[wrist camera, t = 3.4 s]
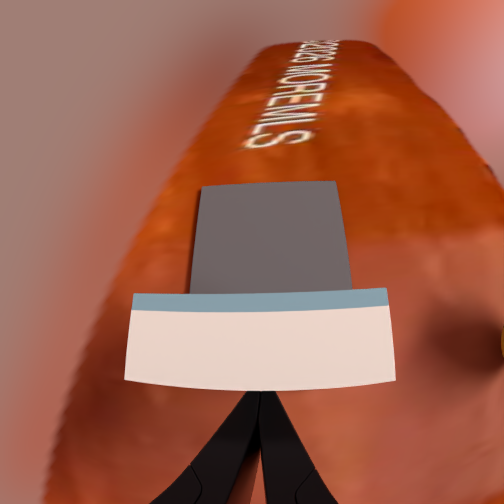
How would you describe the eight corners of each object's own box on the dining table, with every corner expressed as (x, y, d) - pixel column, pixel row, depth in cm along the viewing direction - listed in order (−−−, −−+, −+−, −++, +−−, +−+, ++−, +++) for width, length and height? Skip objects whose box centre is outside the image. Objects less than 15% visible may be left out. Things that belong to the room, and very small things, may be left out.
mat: (354, 332, 16) (356, 330, 16) (188, 335, 17) (186, 334, 17) (334, 184, 21) (335, 181, 21) (203, 190, 22) (202, 186, 22)
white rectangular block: (332, 387, 15) (395, 380, 6) (209, 388, 16) (124, 380, 7) (330, 346, 16) (386, 287, 7) (211, 348, 17) (133, 293, 8)
